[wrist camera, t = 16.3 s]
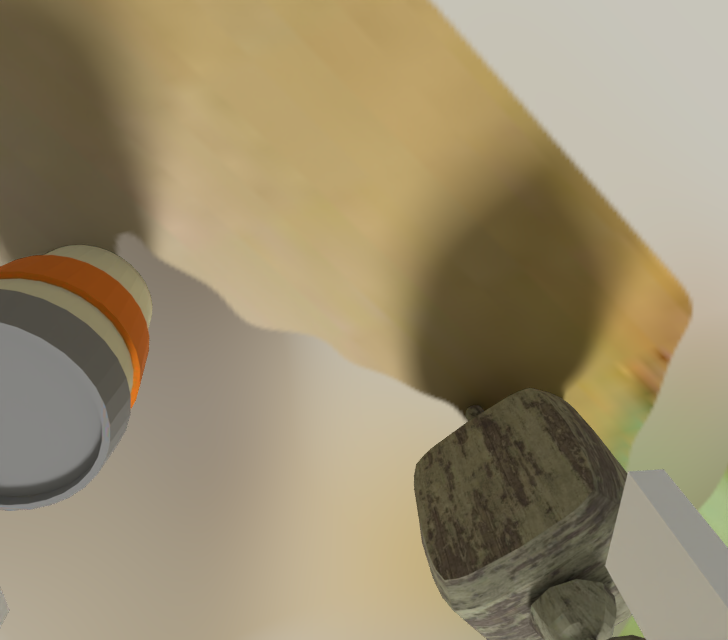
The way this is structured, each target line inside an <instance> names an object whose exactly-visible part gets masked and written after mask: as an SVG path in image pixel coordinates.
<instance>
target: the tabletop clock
mask: <svg viewBox="0 0 728 640" xmlns="http://www.w3.org/2000/svg"><path fill="white" fill-rule="evenodd" d="M466 418H467V419H468V422H467V423H465V424H464V425H463V426H461V427H460V428H459V429H457V430H456V431H455V432H453V433H452V434H451V435H449V436H448V437H446V438H445V439H444V440H442V441H441V442H439V443H438V444H437V445H435V446H434V447H433V448H431V449H430V450H429V451H428V452H427V453H426V454H425V455H424V456H423V457H422V458H421V459H420V461H419V462H418V463H417V464H416V469H415V475H414V490H415V497H416V502H417V509H418V516H419V523H420V530H421V538H422V544H423V547H424V550H425V554H426V557H427V560H428V563H429V567H430V570H431V573H432V576H433V579H434V581H435V583H436V586H437V588H438V589H439V592H440V594H441V596H442V597H443V599H444V600H445V601H446V602H447V603H448V605H449V606H450V607H451V608H452V610H453V611H454V612H456V613H457V614H458V615H459V616H460V617H461V618H463V619H464V620H465V621H466V622H467V623H468V624H470V625H471V626H472V627H473V628H474V629H475V630H476V631H478V632H479V633H480V634H481V635H483V636H484V637H485V638H486V639H487V640H646V639H645V638H641V637H638V636H634V635H629V636H620V637H612V638H611V636H612V635H613V630H614V626H616V625H617V624H619V623H620V622H622V621H624V620H625V619H627V618H628V617H630V616H631V615H632V614H631V612H630V610H629V608H628V606H627V605H626V603H625V601H624V599H623V597H622V596H621V594H620V592H619V590H618V588H617V587H616V585H615V583H614V581H613V579H612V577H611V576H610V574H609V572H608V570H607V568H606V567H605V564H606V560H607V556H608V552H609V548H610V544H611V540H612V536H613V532H614V528H615V523H616V519H617V515H618V511H619V507H620V503H621V499H622V495H623V491H624V486H625V482H626V478H627V472H626V471H625V470H624V469H623V467H622V466H621V465H620V463H619V462H618V461H617V460H616V458H615V457H614V456H613V454H612V453H611V452H610V451H609V449H608V448H607V447H606V445H605V444H604V443H603V442H602V440H601V439H600V438H599V437H598V435H597V434H596V433H595V432H594V430H593V429H592V428H591V427H590V426H589V425H588V424H587V423H586V421H585V420H584V419H583V418H582V417H581V416H580V415H579V413H578V412H577V411H576V410H575V409H574V408H573V407H572V406H571V405H570V404H568V403H567V402H566V401H564V400H563V399H562V398H560V397H558V396H556V395H554V394H551V393H549V392H546V391H542V390H538V389H533V388H528V389H524V390H521V391H518V392H516V393H514V394H512V395H510V396H508V397H506V398H505V399H503V400H501V401H500V402H498V403H497V404H495V405H494V406H492V407H490V408H489V409H487V410H486V411H484V410H483V409H482V407H480V406H478V405H471V406H470V407H469V408H468V409H467V410H466Z"/></svg>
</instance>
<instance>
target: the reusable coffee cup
mask: <svg viewBox="0 0 728 640" xmlns="http://www.w3.org/2000/svg"><path fill="white" fill-rule="evenodd" d="M151 317H152V300H151V295H150V292H149V290H148V287H147V285H146V283H145V282H144V280H143V278H142V277H141V275H140V274H139V273H138V272H137V271H136V270H135V269H134V268H133V267H132V265H131V264H129V263H128V262H127V261H125V260H124V259H123V258H121V257H120V256H118V255H116V254H114V253H112V252H110V251H108V250H105V249H101V248H98V247H94V246H87V245H70V246H65V247H61V248H58V249H55V250H53V251H51V252H49V253H47V254H44V255H34V256H29V257H25V258H21V259H17V260H14V261H12V262H10V263H8V264H5V265H3V266H1V267H0V510H5V511H13V510H30V509H35V508H39V507H44V506H48V505H52V504H55V503H57V502H59V501H62V500H64V499H67V498H69V497H71V496H72V495H74V494H75V493H77V492H78V491H80V490H81V489H83V488H84V487H86V486H87V484H88V483H89V482H90V481H91V480H92V479H93V478H94V477H95V476H96V475H97V474H98V472H99V471H100V470H101V468H102V467H103V465H104V464H105V462H106V461H107V460H108V458H109V457H110V455H111V454H112V452H113V451H114V449H115V448H116V446H117V445H118V443H119V442H120V440H121V438H122V436H123V435H124V433H125V431H126V428H127V425H128V421H129V417H130V413H131V412H130V411H131V408H132V406H133V404H134V402H135V401H136V397H137V394H138V390H139V387H140V383H141V379H142V375H143V371H144V367H145V363H146V359H147V356H148V352H149V333H148V328H149V324H150V320H151Z"/></svg>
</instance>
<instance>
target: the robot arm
mask: <svg viewBox="0 0 728 640" xmlns="http://www.w3.org/2000/svg"><path fill="white" fill-rule="evenodd" d="M605 567H606V568H607V570H608V572H609V574H610V576H611V577H612V579H613V581H614V583H615V585H616V587H617V588H618V590H619V592H620V594H621V596H622V597H623V599H624V601H625V603H626V605H627V606H628V608H629V610H630V612H631V614H632V615H633V617H634V619H635V621H636V623H637V624H638V626H639V628H640V630H641V632H642V633H643V635H644V637H645V639H646V640H728V548H727V546H726V545H725V544H724V543H723V541H722V540H721V539H720V538H719V537H718V535H717V534H716V533H715V532H714V530H713V529H712V528H711V527H710V526H709V524H708V523H707V522H706V521H705V519H704V518H703V517H702V516H701V514H700V513H699V512H698V511H697V510H696V508H695V507H694V506H693V505H692V503H691V502H690V501H689V500H688V499H687V497H686V496H685V495H684V494H683V493H682V491H681V490H680V489H679V488H678V486H677V485H676V484H675V483H674V481H673V480H672V479H671V478H670V477H669V475H668V474H667V473H666V472H665V470H664V469H662V470H645V471H630V472H628V474H627V478H626V482H625V486H624V491H623V495H622V499H621V503H620V507H619V511H618V515H617V519H616V523H615V528H614V532H613V536H612V540H611V544H610V548H609V552H608V556H607V560H606V564H605ZM9 610H10V609H9V607H8V604H7V602H6V599H5V597H4V594H3V592H2V590H1V587H0V627H1V626H2V624H3V622H4V620H5V618H6V616H7V614H8V613H9Z"/></svg>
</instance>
